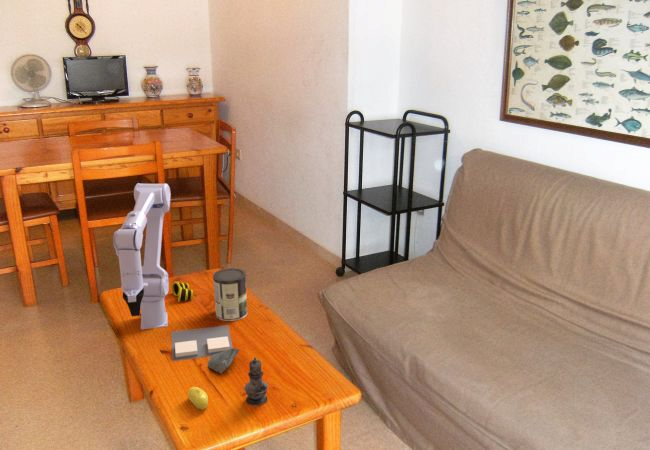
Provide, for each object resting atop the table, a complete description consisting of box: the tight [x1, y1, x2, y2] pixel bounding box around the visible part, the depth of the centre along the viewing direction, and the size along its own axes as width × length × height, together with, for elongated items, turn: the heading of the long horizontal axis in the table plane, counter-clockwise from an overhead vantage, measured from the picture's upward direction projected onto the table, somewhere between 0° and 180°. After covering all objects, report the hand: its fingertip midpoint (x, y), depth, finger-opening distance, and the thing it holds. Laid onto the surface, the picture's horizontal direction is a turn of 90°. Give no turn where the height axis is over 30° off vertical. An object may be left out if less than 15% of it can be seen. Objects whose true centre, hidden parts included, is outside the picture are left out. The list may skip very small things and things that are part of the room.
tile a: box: [175, 340, 198, 358], centre depth 170 cm, size 2×6×6 cm
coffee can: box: [212, 267, 248, 322], centre depth 191 cm, size 10×10×14 cm
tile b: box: [207, 336, 230, 354], centre depth 172 cm, size 2×6×6 cm
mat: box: [170, 324, 234, 362], centre depth 175 cm, size 17×17×1 cm
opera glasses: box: [171, 281, 194, 303], centre depth 205 cm, size 10×5×5 cm, turn 27°
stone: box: [207, 347, 241, 375], centre depth 163 cm, size 11×4×10 cm
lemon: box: [187, 386, 209, 410], centre depth 147 cm, size 4×8×4 cm, turn 28°
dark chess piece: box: [243, 357, 269, 407], centre depth 147 cm, size 6×6×12 cm
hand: (135, 315), depth 170 cm, fingers closed
